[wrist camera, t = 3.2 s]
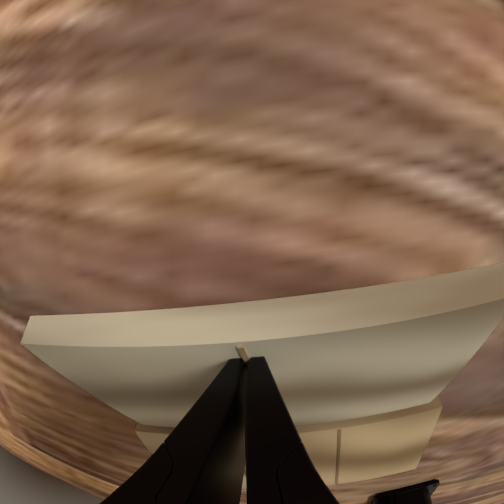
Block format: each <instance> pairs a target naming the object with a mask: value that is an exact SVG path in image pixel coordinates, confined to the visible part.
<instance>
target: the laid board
mask: <svg viewBox="0 0 504 504" xmlns="http://www.w3.org/2000/svg"><path fill="white" fill-rule="evenodd" d="M442 407H443V406H442V404H441V401H440V399H439V397H438V395H437V396H436V397H435V398H434V399H433V400H432V401H431V402H430V403H427V404H423V405H418V406H414V407H410V408H406V409H401V410H397V411H392V412H387V413H382V414H377V415H371V416H365V417H360V418H353V419H347V420H340V421H332V422H325V423H316V424H307V425H296V426H295V427H296V429H297V431H298V434H299V436H300V438H301V440H302V443H303V444H304V446H305V449H306V451H307V453H308V455H309V457H310V459H311V461H312V463H313V465H314V467H315V469H316V470H317V472H318V473H319V475H320V476H321V478H322V480H323V481H324V483H325V484H326V485H334V484H336V485H337V484H342V483H349V482H355V481H361V480H367V479H373V478H378V477H383V476H387V475H392V474H396V473H401V472H405V471H409V470H413V469H416V467H417V465H418V463H419V461H420V459H421V457H422V455H423V453H424V451H425V448H426V446H427V444H428V442H429V439H430V437H431V435H432V432H433V430H434V428H435V425H436V423H437V420H438V418H439V415H440V413H441V410H442ZM174 428H175V427H161V426H149V425H142V424H140V423H138V422H137V425H136V427H135V430H134V431H135V433H136V434H137V436H138V437H139V438H140V440H141V441H142V442H143V444H144V445H145V446H146V448H147V449H148V450H149V452H150V453H151V454H153V453H154V452H155V451H156V450H157V449H158V447H159V446H160V445H161V444H162V443H164V440H165V439H166V438H167V437H168V435H169V434H170V433H171V432H172V431H173V429H174ZM242 490H246V463H245V470H244V477H243V483H242Z"/></svg>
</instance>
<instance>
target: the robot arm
mask: <svg viewBox="0 0 504 504" xmlns="http://www.w3.org/2000/svg"><path fill="white" fill-rule="evenodd" d="M245 463H246V490H247V504H339V502H338V501H337V500H336V498H335V497H334V495H333V494H332V493H331V491H330V490H329V488H328V487H327V486H326V484H325V483H324V481H323V480H322V478H321V476H320V475H319V473H318V472H317V470H316V469H315V467H314V465H313V463H312V461H311V459H310V457H309V455H308V453H307V451H306V449H305V446H304V444H303V443H302V440H301V438H300V436H299V434H298V431H297V429H296V427H295V425H294V422H293V420H292V418H291V416H290V414H289V411H288V409H287V407H286V405H285V402H284V400H283V398H282V395H281V393H280V391H279V389H278V386H277V384H276V382H275V379H274V377H273V375H272V373H271V370H270V368H269V366H268V363H267V361H266V359H265V357H264V356H260V357H251V358H250V359H249V364H248V368H247V365H246V363H245V361H244V360H243V359H242V358H232V359H229V360H228V361H227V363H226V364H225V365H224V367H223V368H222V369H221V371H220V372H219V373H218V374H217V376H216V377H215V378H214V379H213V381H212V382H211V383H210V385H209V386H208V387H207V388H206V390H205V391H204V392H203V393H202V395H201V396H200V397H199V398H198V400H197V401H196V402H195V404H194V405H193V406H192V407H191V408H190V410H189V411H188V412H187V413H186V415H185V416H184V417H183V418H182V420H181V421H180V422H179V423H178V425H177V426H176V427H175V428H174V429H173V431H172V432H171V433H170V434H169V435H168V437H167V438H166V439H165V440H164V443H162V444H161V445H160V446H159V447H158V449H157V450H156V451H155V452H154V453H153V454H152V455H151V457H150V458H149V459H148V460H147V461H146V462H145V463H144V464H143V465H142V466H141V467H140V468H139V469H138V470H137V471H136V472H135V473H134V474H133V475H132V476H131V477H130V478H129V479H128V480H126V481H125V482H124V483H123V484H122V485H121V486H120V487H119V488H117V489H116V490H115V491H114V492H113V493H112V494H111V495H109V496H108V497H107V498H106V499H105V500H104V501H102V502H101V503H100V504H239V502H240V496H241V490H242V483H243V477H244V470H245ZM438 485H439V480H434V481H430V482H427V483H424V484H420V485H416V486H413V487H409V488H405V489H401V490H396V491H392V492H388V493H383V494H378V495H376V496H374V498H373V500H372V503H371V504H432V501H431V497H430V496H431V495H432V493H433V492H434V491H435V489H436V488H437V487H438Z"/></svg>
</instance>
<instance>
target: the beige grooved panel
mask: <svg viewBox="0 0 504 504" xmlns="http://www.w3.org/2000/svg"><path fill="white" fill-rule="evenodd" d="M503 316H504V264H503V263H499V264H494V265H489V266H484V267H479V268H474V269H468V270H463V271H458V272H452V273H447V274H441V275H435V276H430V277H424V278H418V279H412V280H406V281H400V282H393V283H387V284H380V285H374V286H367V287H360V288H353V289H346V290H339V291H332V292H324V293H317V294H309V295H301V296H293V297H284V298H276V299H267V300H258V301H248V302H239V303H229V304H218V305H208V306H197V307H185V308H173V309H160V310H146V311H131V312H114V313H95V314H74V315H45V316H30V319H29V321H28V324H27V327H26V329H25V332H24V335H23V338H22V341H21V344H22V345H23V346H24V347H26V348H27V349H28V350H29V351H31V352H32V353H33V354H34V355H36V356H37V357H38V358H39V359H41V360H42V361H43V362H45V363H46V364H47V365H49V366H50V367H51V368H53V369H54V370H55V371H57V372H58V373H60V374H61V375H62V376H64V377H65V378H67V379H68V380H70V381H71V382H73V383H74V384H75V385H77V386H78V387H80V388H81V389H83V390H84V391H86V392H88V393H89V394H91V395H92V396H94V397H95V398H97V399H99V400H100V401H102V402H103V403H105V404H107V405H108V406H110V407H112V408H113V409H115V410H117V411H119V412H120V413H122V414H124V415H126V416H127V417H129V418H131V419H133V420H135V421H136V422H138V423H140V424H142V425H149V426H161V427H176V426H177V425H178V423H179V422H180V421H181V420H182V418H183V417H184V416H185V415H186V413H187V412H188V411H189V410H190V408H191V407H192V406H193V405H194V404H195V402H196V401H197V400H198V398H199V397H200V396H201V395H202V393H203V392H204V391H205V390H206V388H207V387H208V386H209V385H210V383H211V382H212V381H213V379H214V378H215V377H216V376H217V374H218V373H219V372H220V371H221V369H222V368H223V367H224V365H225V364H226V363H227V361H228V360H229V359H232V358H242V359H243V360H244V361H245V363H246V365H247V368H248V364H249V359H250V358H251V357H260V356H264V357H265V359H266V361H267V363H268V366H269V368H270V370H271V373H272V375H273V377H274V379H275V382H276V384H277V386H278V389H279V391H280V393H281V395H282V398H283V400H284V402H285V405H286V407H287V409H288V411H289V414H290V416H291V418H292V420H293V422H294V425H295V426H296V425H307V424H316V423H325V422H332V421H340V420H347V419H353V418H360V417H365V416H371V415H377V414H382V413H387V412H392V411H397V410H401V409H406V408H410V407H414V406H418V405H423V404H427V403H430V402H431V401H432V400H433V399H434V398H435V397H436V396H437V395H438V394H439V393H440V392H441V391H442V390H443V389H444V388H445V387H446V386H447V385H448V384H449V383H450V382H451V380H452V379H453V378H454V377H455V376H456V375H457V374H458V373H459V372H460V370H461V369H462V368H463V367H464V366H465V365H466V364H467V362H468V361H469V360H470V359H471V358H472V357H473V355H474V354H475V353H476V352H477V351H478V349H479V348H480V347H481V346H482V344H483V343H484V342H485V341H486V339H487V338H488V337H489V335H490V334H491V333H492V331H493V330H494V329H495V327H496V326H497V325H498V323H499V322H500V321H501V319H502V318H503Z"/></svg>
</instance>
